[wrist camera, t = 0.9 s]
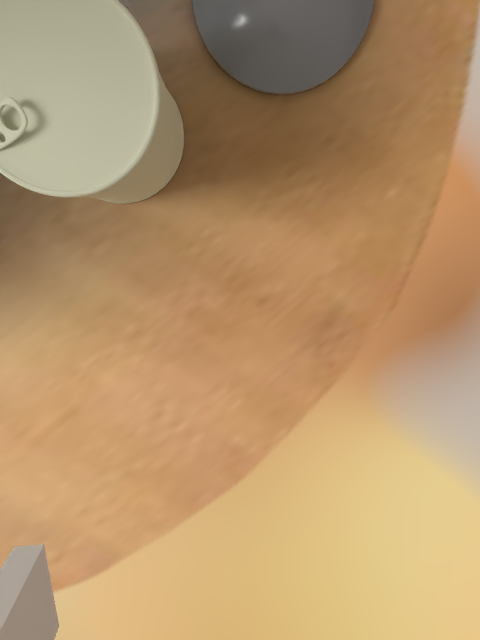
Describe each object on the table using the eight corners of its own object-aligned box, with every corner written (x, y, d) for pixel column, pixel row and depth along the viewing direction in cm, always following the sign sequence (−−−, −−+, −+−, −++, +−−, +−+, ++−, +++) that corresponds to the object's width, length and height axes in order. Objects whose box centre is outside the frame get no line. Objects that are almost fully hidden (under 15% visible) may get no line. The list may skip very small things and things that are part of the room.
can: (23, 117, 29) (-109, 55, 18) (128, 31, 28) (62, -96, 17) (109, 229, 31) (43, 238, 20) (210, 152, 30) (203, 115, 19)
